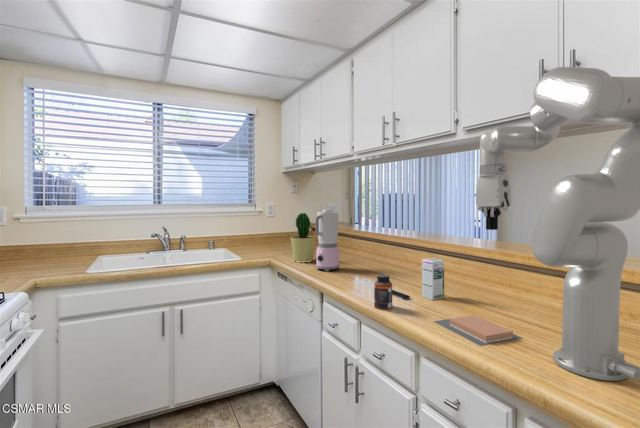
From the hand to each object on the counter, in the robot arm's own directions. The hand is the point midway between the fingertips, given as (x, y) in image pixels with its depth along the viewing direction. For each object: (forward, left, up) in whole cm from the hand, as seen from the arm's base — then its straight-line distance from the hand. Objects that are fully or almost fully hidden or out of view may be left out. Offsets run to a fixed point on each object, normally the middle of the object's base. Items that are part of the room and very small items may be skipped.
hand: (491, 229), depth 107 cm
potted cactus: (+112, +30, -27) cm, 119 cm away
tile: (-5, +16, -26) cm, 31 cm away
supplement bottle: (+16, +30, -27) cm, 44 cm away
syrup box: (+21, +6, -27) cm, 35 cm away
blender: (+83, +26, -27) cm, 91 cm away
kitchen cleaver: (+37, +20, -28) cm, 51 cm away
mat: (-10, +16, -27) cm, 33 cm away
